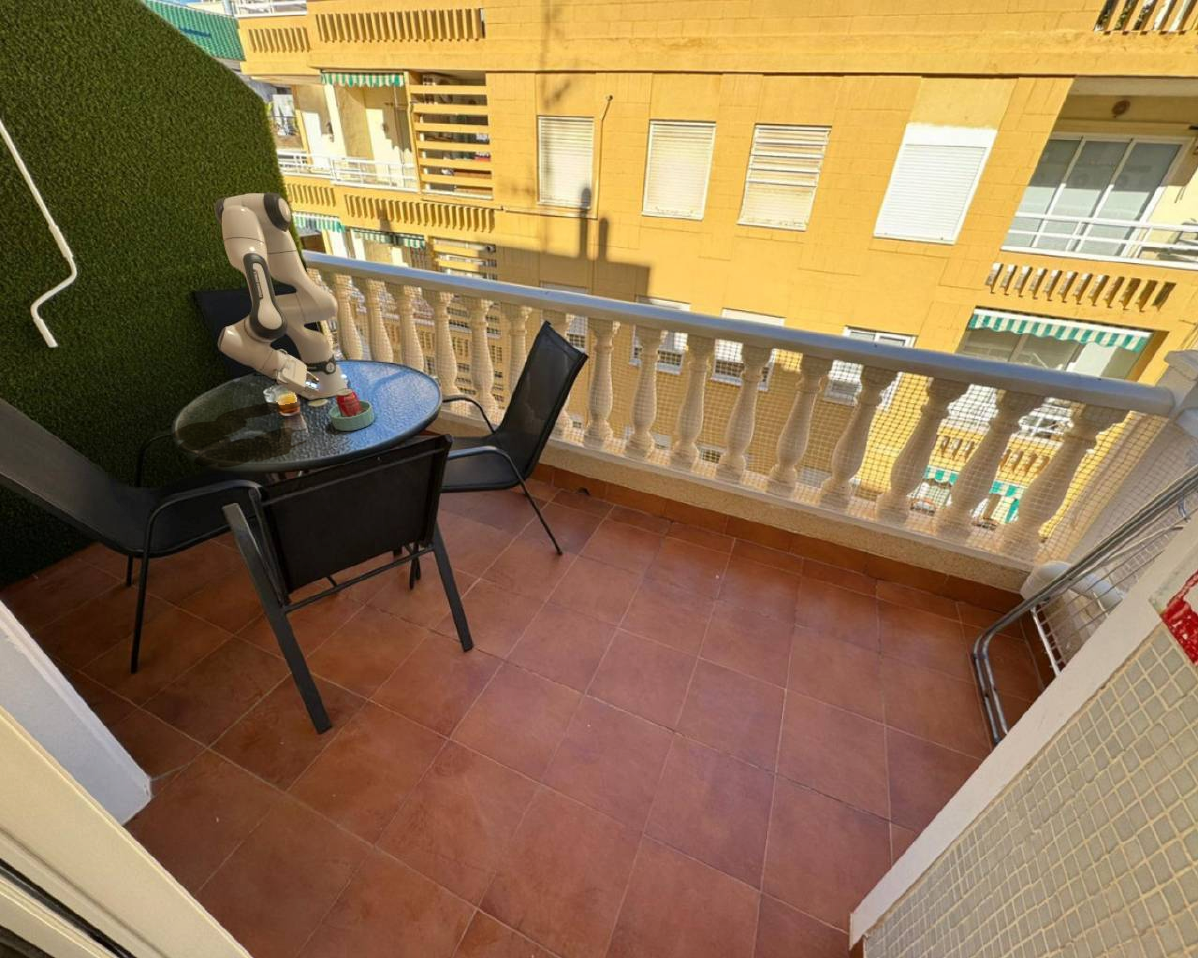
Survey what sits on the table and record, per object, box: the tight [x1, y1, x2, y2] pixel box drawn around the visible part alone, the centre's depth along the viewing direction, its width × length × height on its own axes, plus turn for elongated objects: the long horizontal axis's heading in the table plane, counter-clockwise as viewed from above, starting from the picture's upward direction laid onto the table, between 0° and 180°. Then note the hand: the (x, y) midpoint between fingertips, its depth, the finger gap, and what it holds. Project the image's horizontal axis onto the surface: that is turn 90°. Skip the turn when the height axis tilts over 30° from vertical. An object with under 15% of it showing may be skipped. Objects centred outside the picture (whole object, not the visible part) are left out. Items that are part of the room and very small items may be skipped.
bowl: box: [328, 399, 376, 432], centre depth 182 cm, size 14×14×6 cm
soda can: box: [335, 387, 362, 418], centre depth 180 cm, size 7×7×12 cm
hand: (317, 387), depth 173 cm, fingers open, 8 cm apart
